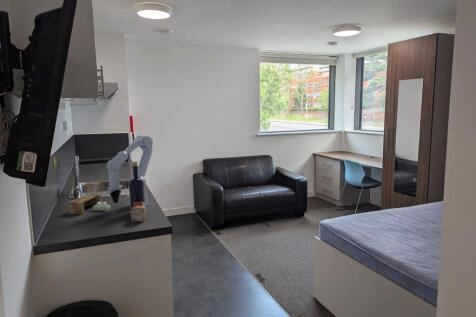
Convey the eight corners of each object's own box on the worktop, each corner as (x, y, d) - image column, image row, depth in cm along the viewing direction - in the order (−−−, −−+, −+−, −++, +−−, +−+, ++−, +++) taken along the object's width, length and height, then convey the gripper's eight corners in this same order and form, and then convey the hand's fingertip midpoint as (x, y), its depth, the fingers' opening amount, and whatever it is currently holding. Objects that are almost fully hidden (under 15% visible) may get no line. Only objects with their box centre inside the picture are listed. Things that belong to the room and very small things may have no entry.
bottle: (147, 209, 205) (144, 160, 200) (144, 214, 195) (140, 162, 191) (132, 210, 204) (129, 160, 200) (127, 214, 195) (124, 163, 191)
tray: (111, 208, 208) (110, 201, 208) (106, 211, 203) (106, 203, 203) (97, 208, 210) (97, 201, 209) (92, 210, 205) (92, 203, 204)
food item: (146, 222, 182) (145, 204, 180) (130, 223, 180) (129, 205, 178) (146, 215, 195) (145, 198, 193) (132, 216, 193) (131, 199, 192)
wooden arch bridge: (101, 204, 217) (101, 194, 216) (83, 214, 198) (82, 202, 197) (89, 204, 219) (88, 194, 218) (69, 213, 200) (68, 202, 199)
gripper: (114, 177, 210) (115, 199, 212) (101, 182, 196) (102, 205, 198) (125, 178, 209) (126, 199, 211) (112, 183, 195) (114, 206, 197)
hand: (115, 202), depth 204 cm, fingers closed
